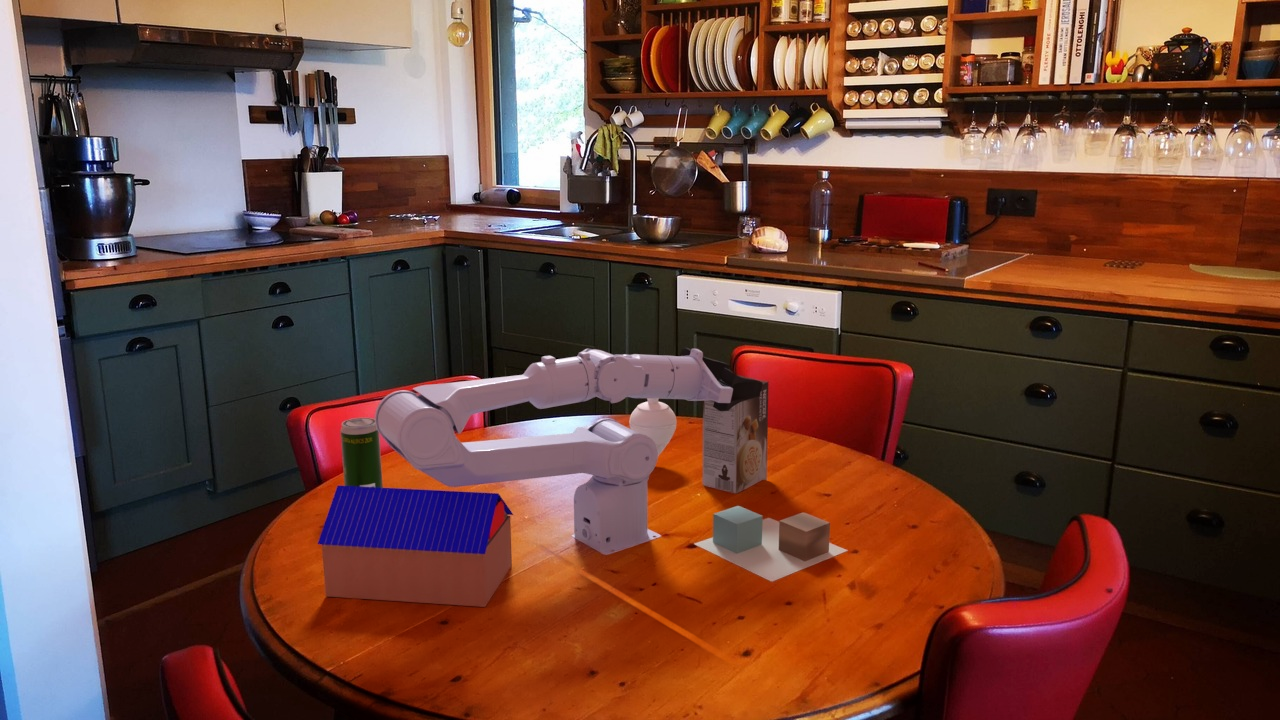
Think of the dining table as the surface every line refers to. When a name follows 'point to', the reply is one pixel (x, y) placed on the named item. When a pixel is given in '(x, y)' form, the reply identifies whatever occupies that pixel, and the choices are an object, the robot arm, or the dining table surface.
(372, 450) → the beer can
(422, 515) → the house
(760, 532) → the teal block
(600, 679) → the dining table surface
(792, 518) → the walnut block
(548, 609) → the dining table surface
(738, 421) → the coffee box
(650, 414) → the spinning top
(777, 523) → the mat
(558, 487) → the dining table surface
